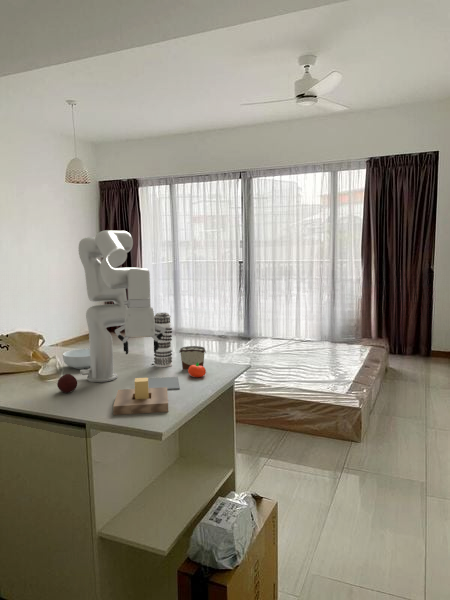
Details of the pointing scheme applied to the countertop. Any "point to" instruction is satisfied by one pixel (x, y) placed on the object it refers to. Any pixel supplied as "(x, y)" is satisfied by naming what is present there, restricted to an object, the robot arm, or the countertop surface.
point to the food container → (192, 356)
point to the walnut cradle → (141, 402)
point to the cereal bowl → (77, 358)
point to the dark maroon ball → (67, 383)
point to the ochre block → (141, 388)
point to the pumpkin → (196, 370)
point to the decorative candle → (163, 341)
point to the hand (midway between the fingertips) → (141, 352)
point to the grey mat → (164, 383)
